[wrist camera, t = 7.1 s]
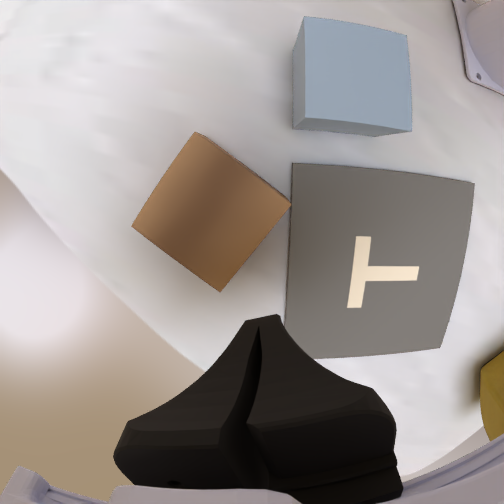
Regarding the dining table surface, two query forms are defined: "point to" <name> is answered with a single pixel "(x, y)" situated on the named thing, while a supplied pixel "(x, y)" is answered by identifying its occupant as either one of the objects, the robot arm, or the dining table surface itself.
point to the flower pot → (493, 396)
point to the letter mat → (373, 259)
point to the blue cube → (351, 79)
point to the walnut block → (210, 211)
